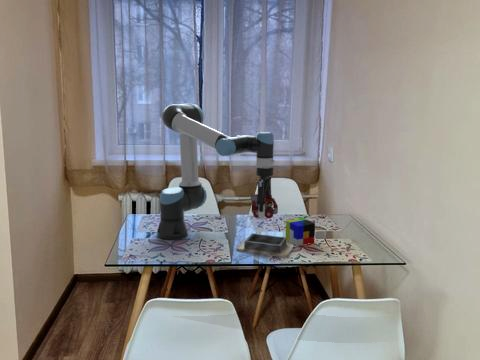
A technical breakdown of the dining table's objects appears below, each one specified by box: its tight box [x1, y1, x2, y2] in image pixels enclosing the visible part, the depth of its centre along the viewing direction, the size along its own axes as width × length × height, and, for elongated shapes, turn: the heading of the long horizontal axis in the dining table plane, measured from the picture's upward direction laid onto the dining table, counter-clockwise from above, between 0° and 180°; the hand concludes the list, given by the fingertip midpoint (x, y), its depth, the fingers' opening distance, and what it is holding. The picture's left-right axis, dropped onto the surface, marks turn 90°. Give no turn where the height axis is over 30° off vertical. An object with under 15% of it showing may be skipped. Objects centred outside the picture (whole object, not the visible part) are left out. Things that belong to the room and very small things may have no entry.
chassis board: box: [235, 232, 295, 258], centre depth 207 cm, size 24×14×4 cm, turn 71°
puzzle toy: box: [285, 217, 316, 247], centre depth 217 cm, size 10×10×10 cm
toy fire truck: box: [250, 193, 279, 219], centre depth 203 cm, size 7×12×10 cm, turn 82°
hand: (264, 215), depth 204 cm, fingers closed on toy fire truck, 7 cm apart
